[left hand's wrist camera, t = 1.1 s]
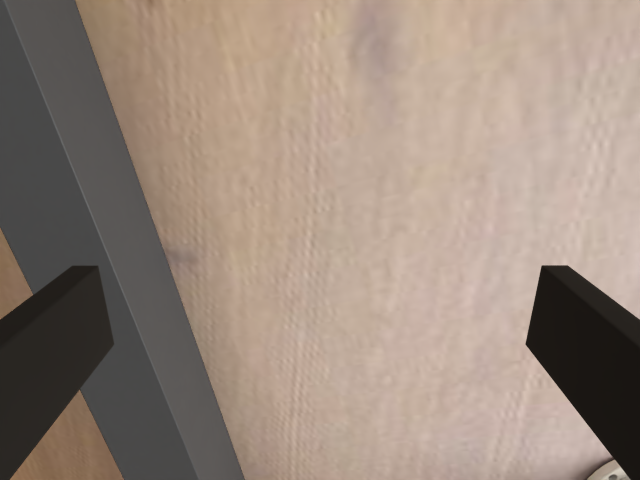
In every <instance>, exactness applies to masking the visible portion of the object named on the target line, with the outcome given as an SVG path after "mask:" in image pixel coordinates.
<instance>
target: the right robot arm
mask: <svg viewBox="0 0 640 480" xmlns="http://www.w3.org/2000/svg"><path fill="white" fill-rule="evenodd" d="M587 480H630V479H629V477H628V476H627V475H626V473H625V472H624V471H623V469H622V468H621V467H620V466H619V464H618V463H617V462H616V460H615V459H614V460H613V461H611V462H609V463H607V464H605V465H603V466H602V467H601V468H599V469H598V470H596V471H595V472H594V473H593V474H592V475H591V476H590V477H589V478H588V479H587Z"/></svg>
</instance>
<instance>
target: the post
mask: <svg viewBox="0 0 640 480" xmlns="http://www.w3.org/2000/svg"><path fill="white" fill-rule="evenodd" d="M0 228H1V230H2V232H3V234H4V236H5V238H6V240H7V242H8V244H9V246H10V248H11V250H12V252H13V254H14V256H15V258H16V260H17V262H18V264H19V266H20V268H21V270H22V272H23V275H24V277H25V279H26V281H27V283H28V285H29V287H30V289H31V291H32V293H33V295H34V294H35V293H37V292H38V291H39V290H41V289H42V288H43V287H45V286H46V285H47V284H49V283H50V282H51V281H52V280H54V279H55V278H56V277H58V276H59V275H60V274H62V273H63V272H64V271H66V270H67V269H68V268H70V267H71V266H98V267H99V272H100V277H101V281H102V286H103V291H104V296H105V301H106V306H107V311H108V316H109V320H110V325H111V330H112V335H113V340H114V346H113V347H112V348H111V349H110V351H109V352H108V353H107V355H106V356H105V357H104V358H103V360H102V361H101V362H100V364H99V365H98V366H97V368H96V369H95V370H94V371H93V373H92V374H91V375H90V377H89V378H88V379H87V380H86V382H85V383H84V384H83V386H82V387H81V388H80V391H81V393H82V395H83V397H84V399H85V401H86V403H87V405H88V407H89V409H90V411H91V413H92V415H93V417H94V419H95V421H96V423H97V425H98V427H99V429H100V431H101V433H102V435H103V438H104V440H105V442H106V444H107V446H108V448H109V450H110V452H111V454H112V456H113V458H114V460H115V462H116V464H117V466H118V468H119V470H120V472H121V474H122V476H123V478H124V480H245V479H244V476H243V473H242V471H241V468H240V465H239V462H238V459H237V457H236V454H235V451H234V448H233V445H232V442H231V440H230V437H229V434H228V431H227V428H226V425H225V423H224V420H223V417H222V414H221V411H220V409H219V406H218V403H217V400H216V397H215V394H214V392H213V389H212V386H211V383H210V380H209V378H208V375H207V372H206V369H205V366H204V363H203V361H202V358H201V355H200V352H199V349H198V347H197V344H196V341H195V338H194V335H193V332H192V330H191V327H190V324H189V321H188V318H187V316H186V313H185V310H184V307H183V304H182V301H181V299H180V296H179V293H178V290H177V287H176V284H175V282H174V279H173V276H172V273H171V270H170V268H169V265H168V262H167V259H166V256H165V253H164V251H163V248H162V245H161V242H160V239H159V237H158V234H157V231H156V228H155V225H154V222H153V220H152V217H151V214H150V211H149V208H148V206H147V203H146V200H145V197H144V194H143V191H142V189H141V186H140V183H139V180H138V177H137V175H136V172H135V169H134V166H133V163H132V160H131V158H130V155H129V152H128V149H127V146H126V144H125V141H124V138H123V135H122V132H121V129H120V127H119V124H118V121H117V118H116V115H115V112H114V110H113V107H112V104H111V101H110V98H109V96H108V93H107V90H106V87H105V84H104V81H103V79H102V76H101V73H100V70H99V67H98V65H97V62H96V59H95V56H94V53H93V50H92V48H91V45H90V42H89V39H88V36H87V34H86V31H85V28H84V25H83V22H82V19H81V17H80V14H79V11H78V8H77V5H76V3H75V0H0Z"/></svg>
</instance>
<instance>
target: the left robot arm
mask: <svg viewBox="0 0 640 480" xmlns="http://www.w3.org/2000/svg"><path fill="white" fill-rule="evenodd" d="M113 346H114V340H113V335H112V330H111V325H110V320H109V316H108V311H107V306H106V301H105V296H104V291H103V286H102V281H101V277H100V272H99V267H98V266H71V267H70V268H68V269H67V270H66V271H64V272H63V273H62V274H60V275H59V276H58V277H56V278H55V279H54V280H52V281H51V282H50V283H49V284H47V285H46V286H45V287H43V288H42V289H41V290H39V291H38V292H37V293H35V294H34V295H33V296H31V297H30V298H29V299H27V300H26V301H25V302H23V303H22V304H21V305H19V306H18V307H17V308H15V309H14V310H13V311H11V312H10V313H9V314H7V315H6V316H5V317H3V318H2V319H1V320H0V480H10V479H11V477H12V476H13V475H14V473H15V472H16V471H17V469H18V468H19V467H20V466H21V464H22V463H23V462H24V460H25V459H26V458H27V457H28V455H29V454H30V453H31V451H32V450H33V449H34V448H35V446H36V445H37V444H38V442H39V441H40V440H41V438H42V437H43V436H44V435H45V433H46V432H47V431H48V429H49V428H50V427H51V426H52V424H53V423H54V422H55V420H56V419H57V418H58V417H59V415H60V414H61V413H62V411H63V410H64V409H65V408H66V406H67V405H68V404H69V402H70V401H71V400H72V398H73V397H74V396H75V395H76V393H77V392H78V391H79V389H80V388H81V387H82V386H83V384H84V383H85V382H86V380H87V379H88V378H89V377H90V375H91V374H92V373H93V371H94V370H95V369H96V368H97V366H98V365H99V364H100V362H101V361H102V360H103V358H104V357H105V356H106V355H107V353H108V352H109V351H110V349H111V348H112V347H113ZM526 346H527V347H528V348H529V349H530V351H531V352H532V353H533V355H534V356H535V357H536V358H537V360H538V361H539V362H540V364H541V365H542V366H543V368H544V369H545V370H546V371H547V373H548V374H549V375H550V377H551V378H552V379H553V380H554V382H555V383H556V384H557V386H558V387H559V388H560V389H561V391H562V392H563V393H564V395H565V396H566V397H567V398H568V400H569V401H570V402H571V404H572V405H573V406H574V408H575V409H576V410H577V411H578V413H579V414H580V415H581V417H582V418H583V419H584V420H585V422H586V423H587V424H588V426H589V427H590V428H591V429H592V431H593V432H594V433H595V435H596V436H597V437H598V438H599V440H600V441H601V442H602V444H603V445H604V446H605V448H606V449H607V450H608V451H609V453H610V454H611V455H612V457H613V458H614V459H615V460H616V462H617V463H618V464H619V466H620V467H621V468H622V469H623V471H624V472H625V473H626V475H627V476H628V477H629V479H630V480H640V320H639V319H638V318H637V317H635V316H634V315H633V314H631V313H630V312H629V311H627V310H626V309H625V308H623V307H622V306H621V305H619V304H618V303H617V302H615V301H614V300H613V299H611V298H610V297H609V296H607V295H606V294H605V293H603V292H602V291H601V290H599V289H598V288H597V287H595V286H594V285H593V284H591V283H590V282H589V281H588V280H586V279H585V278H584V277H582V276H581V275H580V274H578V273H577V272H576V271H574V270H573V269H572V268H570V267H569V266H542V267H541V272H540V277H539V281H538V286H537V291H536V296H535V301H534V306H533V311H532V316H531V320H530V325H529V330H528V335H527V340H526Z"/></svg>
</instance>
